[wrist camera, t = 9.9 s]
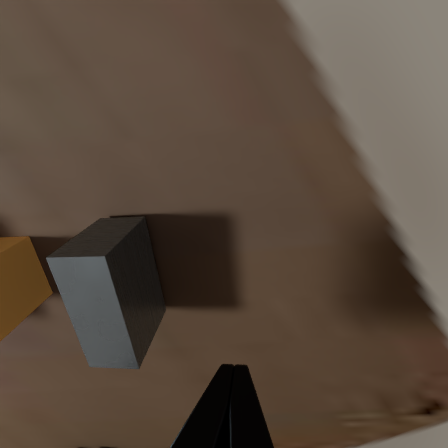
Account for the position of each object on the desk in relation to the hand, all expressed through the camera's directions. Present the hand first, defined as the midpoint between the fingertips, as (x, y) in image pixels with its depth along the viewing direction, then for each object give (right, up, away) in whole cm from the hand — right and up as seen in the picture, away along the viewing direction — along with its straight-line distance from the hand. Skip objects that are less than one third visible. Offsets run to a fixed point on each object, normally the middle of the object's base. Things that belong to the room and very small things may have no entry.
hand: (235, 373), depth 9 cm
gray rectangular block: (-5, +2, +7) cm, 9 cm away
